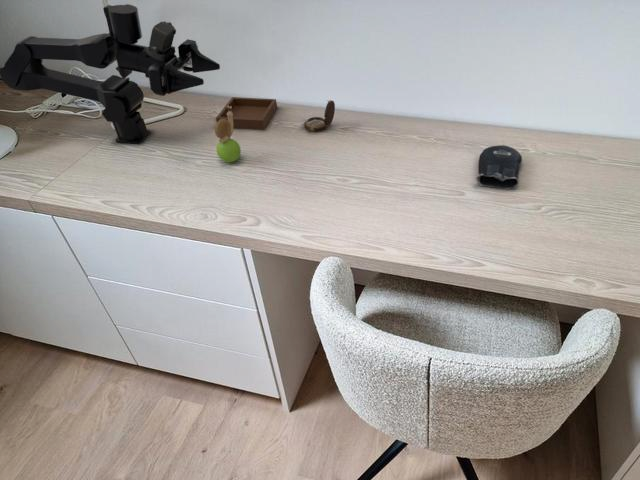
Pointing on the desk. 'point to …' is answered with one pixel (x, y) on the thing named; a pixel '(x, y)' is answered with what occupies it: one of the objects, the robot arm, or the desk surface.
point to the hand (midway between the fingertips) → (211, 74)
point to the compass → (321, 119)
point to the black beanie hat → (499, 167)
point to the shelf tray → (249, 112)
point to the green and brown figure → (227, 139)
